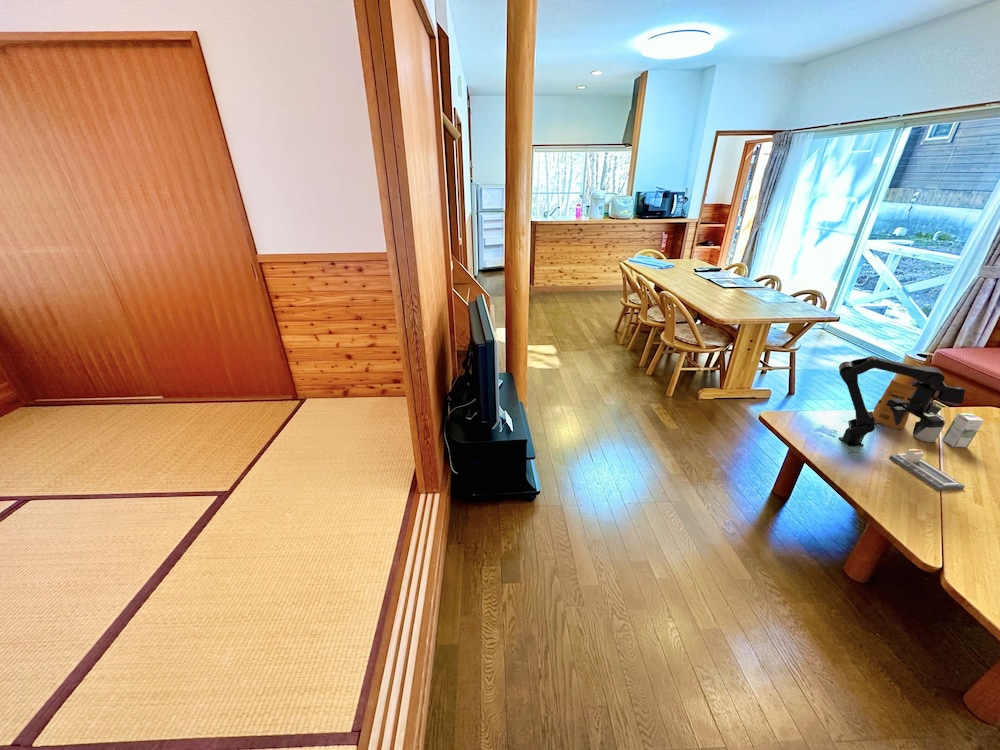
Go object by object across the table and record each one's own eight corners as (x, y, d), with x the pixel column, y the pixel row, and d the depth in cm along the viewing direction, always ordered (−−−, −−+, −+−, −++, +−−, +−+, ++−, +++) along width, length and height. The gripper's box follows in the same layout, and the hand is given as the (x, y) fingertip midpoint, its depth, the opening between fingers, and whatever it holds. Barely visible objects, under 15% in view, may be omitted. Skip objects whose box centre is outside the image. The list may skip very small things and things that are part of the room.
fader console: (937, 490, 151) (940, 485, 150) (889, 457, 169) (891, 453, 168) (963, 489, 151) (966, 484, 150) (912, 456, 169) (914, 452, 168)
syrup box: (955, 440, 178) (971, 412, 172) (968, 448, 173) (984, 420, 167) (941, 439, 179) (956, 412, 172) (953, 447, 174) (969, 419, 167)
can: (939, 444, 176) (952, 421, 171) (919, 442, 178) (931, 419, 172) (927, 434, 183) (938, 412, 178) (908, 433, 184) (919, 411, 179)
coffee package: (872, 413, 200) (889, 374, 190) (905, 423, 191) (925, 383, 182) (868, 421, 194) (885, 381, 185) (902, 431, 186) (922, 390, 176)
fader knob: (910, 462, 163) (915, 452, 161) (903, 458, 166) (908, 448, 164) (919, 462, 163) (924, 452, 161) (912, 457, 166) (917, 448, 164)
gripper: (966, 408, 152) (947, 441, 158) (917, 386, 168) (902, 417, 175) (938, 409, 151) (920, 443, 158) (892, 387, 168) (878, 418, 175)
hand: (905, 429), depth 167 cm, fingers open, 7 cm apart
